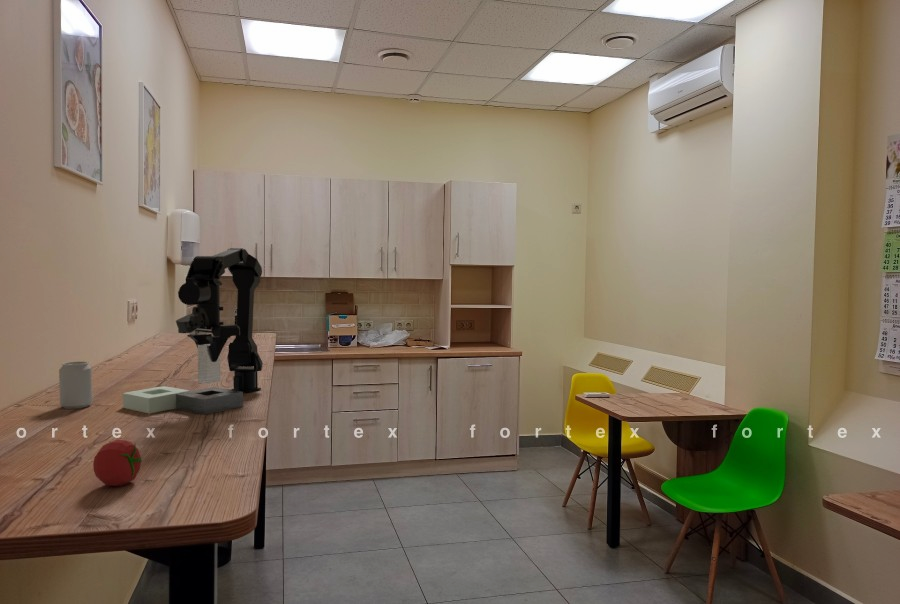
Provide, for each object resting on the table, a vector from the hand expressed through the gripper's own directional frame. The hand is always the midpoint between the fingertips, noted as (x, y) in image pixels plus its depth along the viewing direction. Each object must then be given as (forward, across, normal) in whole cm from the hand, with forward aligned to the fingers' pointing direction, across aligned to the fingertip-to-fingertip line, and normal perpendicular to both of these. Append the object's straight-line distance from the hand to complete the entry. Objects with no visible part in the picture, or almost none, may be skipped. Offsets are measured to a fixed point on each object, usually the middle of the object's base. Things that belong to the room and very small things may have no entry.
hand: (209, 361), depth 166 cm
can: (+13, -31, -19) cm, 39 cm away
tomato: (+13, +38, -46) cm, 61 cm away
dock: (+13, -13, -7) cm, 19 cm away
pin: (+6, 0, 0) cm, 6 cm away
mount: (+13, 0, 0) cm, 13 cm away
